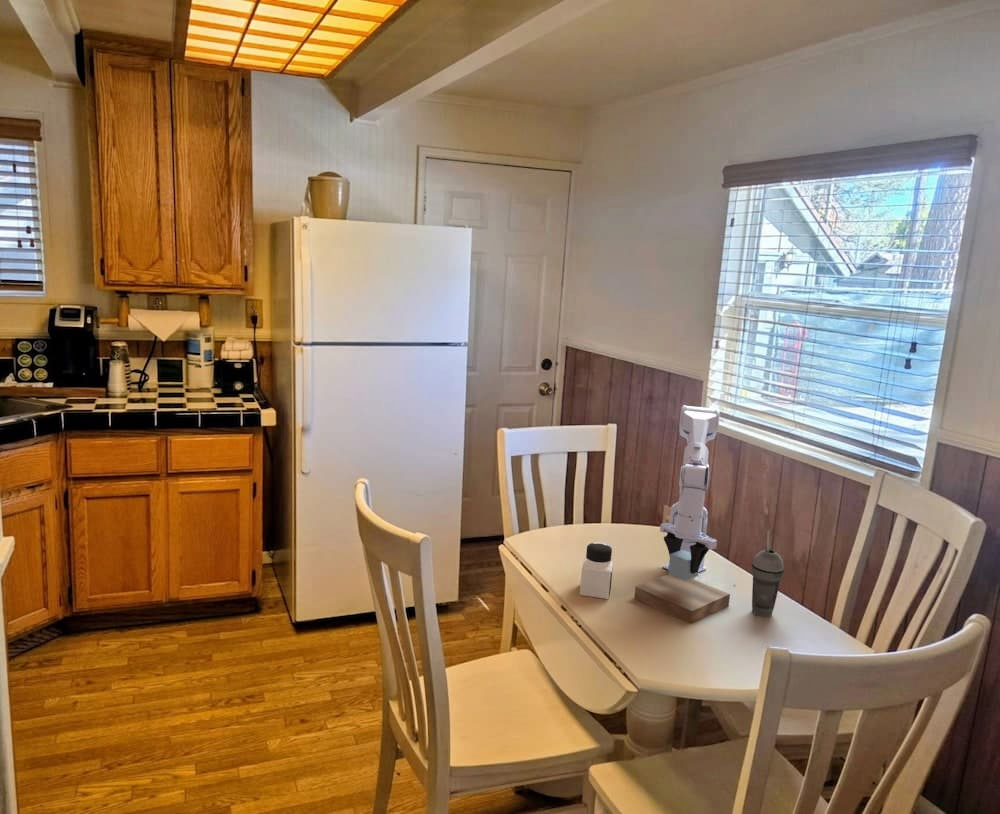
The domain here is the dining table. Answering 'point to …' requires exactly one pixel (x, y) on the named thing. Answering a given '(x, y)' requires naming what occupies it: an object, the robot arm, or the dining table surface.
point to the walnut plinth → (682, 597)
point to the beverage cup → (766, 581)
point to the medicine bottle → (597, 571)
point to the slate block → (681, 565)
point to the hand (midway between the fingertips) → (684, 568)
